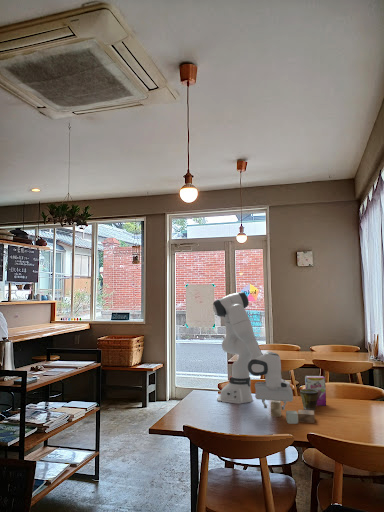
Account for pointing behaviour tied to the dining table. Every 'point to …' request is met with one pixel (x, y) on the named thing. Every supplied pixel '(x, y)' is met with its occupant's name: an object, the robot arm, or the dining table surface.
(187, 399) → the dining table surface
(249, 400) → the robot arm
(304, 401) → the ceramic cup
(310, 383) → the candy bar box
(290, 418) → the grey green block
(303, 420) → the walnut pedestal
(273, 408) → the oak block
